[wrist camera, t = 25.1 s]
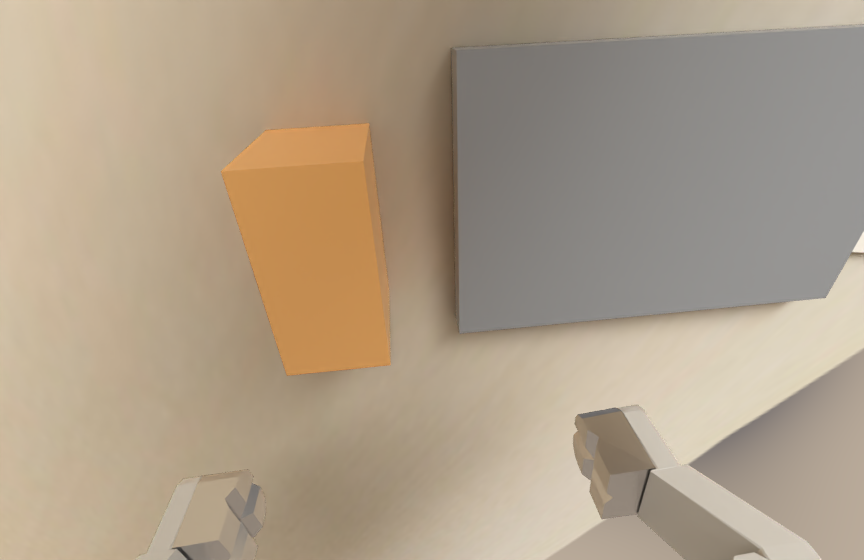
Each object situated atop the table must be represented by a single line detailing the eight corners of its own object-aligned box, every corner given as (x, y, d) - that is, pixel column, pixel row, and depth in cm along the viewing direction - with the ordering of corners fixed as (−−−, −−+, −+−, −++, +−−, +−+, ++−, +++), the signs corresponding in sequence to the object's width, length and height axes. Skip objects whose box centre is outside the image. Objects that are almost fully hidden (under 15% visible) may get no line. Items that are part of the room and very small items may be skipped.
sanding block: (389, 290, 23) (390, 365, 18) (308, 297, 23) (287, 375, 18) (369, 122, 18) (363, 160, 13) (266, 129, 18) (220, 171, 13)
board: (455, 317, 24) (459, 333, 23) (451, 47, 17) (456, 50, 16) (803, 284, 26) (825, 297, 24) (943, 20, 18) (984, 19, 17)
